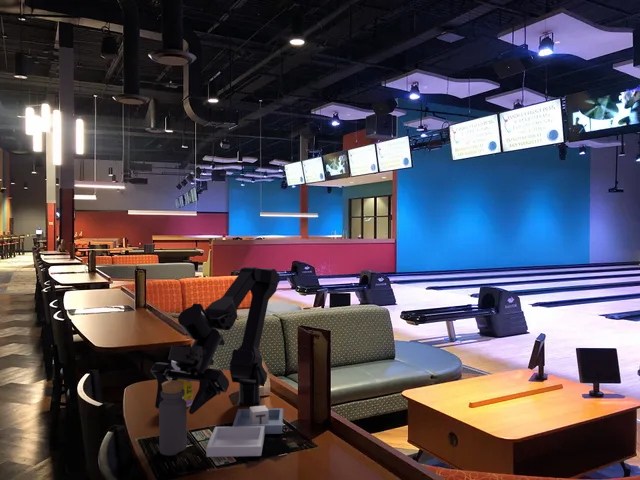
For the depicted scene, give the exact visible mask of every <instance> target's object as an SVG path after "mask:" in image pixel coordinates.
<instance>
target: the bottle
mask: <svg viewBox="0 0 640 480" xmlns="http://www.w3.org/2000/svg"><path fill="white" fill-rule="evenodd" d="M183 384H184V382H183V381H179V380H172V381H166V382H164V383H162V389H163V391H162V392H161V397H162V398H164V400H163V401H162V402H161V403H160V404H159V409H158V422H159V423H158V425H159V426H158V435H159V437H158V439H159V440H158V441H159V446H158V447H159V449H158V450H159V453H160V454H161V455H163V456H177V455H178V453H181V452H184V451H185V450H186V449H187V446H188V445H187V436H188V435H187V434H188V433H187V428H188V426H187V421H188V420H187V407H186V401H185V400H184V399H182V396H184V395H185V390H184V389H183Z"/></svg>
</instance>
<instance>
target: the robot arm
mask: <svg viewBox="0 0 640 480" xmlns="http://www.w3.org/2000/svg"><path fill="white" fill-rule="evenodd" d="M280 279H281V275H280V274H279V272H277V269H275V268H262V267H260V268H259V267H256V266H243V267H241V268H240V270H239V274H238V275H237V277H236V278H235V279H234V280H233V282H232V283H231V285H230V286H229V287H228V288H227V290H226V291H225V293H224V294H223V295H222V296H221V297H220V298H219V299H217V300H214V301H213V302H211V303H210V304H209V305H208V306H207V307H206V308H204V307H203V305H202V303H197V302H196V303H195V302H193V304H192V305H191V306H190V307H188V308H186V309H184V310H183V311H182V312H180V313H179V315H178V318H177V321H178V324H179V326H180V327H181V328H182V329H183V331H184V332H185V333H186V335H187V336H188V338H190V339H191V340H194V341H193V342H192V345H191V346H186V347H185V346H177V345H171V347H170V350H169V355H168V358H167V361H172V360H173V361H175V362H177V363H176V366H177V367H180V370H175V369H174V368H173V367H172V365H171V363H167V362H160V361H159V362H154V363H153V365H152V367H151V369H150V373H151V374H152V375H153V377H154V378H155V379H156V381H157V389H156V395H155V404H154V406H155V407H154V408H155V409H157V410H159V404H160V403H161V402H162V401H163V400H164V398H162V397H161V392H162V391H163V389H162V383H164V382H166V381H172V380H178V379H182V380H189V381H192V382H198V383H199V386H198V390H197V391H196V394H195V396H194V398H193V401H192V404H191V406H189V407H190V408H189V410H188V413H189V415H193V414H194V413H196V412H197V411H198V410H199V409H200V408H201V407H202V406H204V405H206V403H208V402H209V401H210V400H212V399H214V397H216V396H219V395H221V393H227V391H228V389H229V387H230V381H229V379H228V377H227V376H226V375H225V373H224V372H223V371H222V370H221V369H219V368H218V369H217V368H209V367H210V366H213V365H214V363H215V360H213V358H214V355H215V354H216V351H217V349H218V347H219V346H224V345H225V344H226V342H225V340H224V335H223V334H221V333H220V332H219V330H220V331H230V330H231V329H232V328H233V327H234V324H235V322H236V320H237V318H238V309H239V307H240V305H241V304H242V303H243V301H244V300H245V298H246V297H247V295H248V294H249V292H250V293H251V300H250V304H249V310H248V313H247V314H248V315H247V318H246V323H245V328H244V333H243V336H242V341H241V345H240V346H238V347H239V348H238V349H233V350H232V353H231V354H232V355H231V358H230V361H229V367H228V368H229V373H230V378H231V382H232V383H237V384H238V388H239V389H238V394H239V395H238V396H239V397H238V401H237V403H236V407H254V406H262V399H263V398H262V397H260V396H261V395H260V393H261V391H260V389H261V388H260V387H261V385H265V384H266V382H267V379H268V372H267V371H266V370H265V368H264V367H263V364H262V363H263V356H262V354H261V351H260V344H261V339H262V334H263V331H264V326H265V325H264V324H265V319H266V314H267V310H268V304H269V300H270V299H271V298H272V297H273V296H274V295H275V293H276V292H277V290H278V286H279V283H280Z"/></svg>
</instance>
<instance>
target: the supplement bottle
mask: <svg viewBox="0 0 640 480" xmlns="http://www.w3.org/2000/svg"><path fill="white" fill-rule="evenodd" d="M170 361H171V363H170V365H171V366H172V367H173V368H174V369H175V370H180V367H177V366H176V363H177V362H175V361H173V360H170ZM178 380H179V381H183V382H184V384H183V389H184V390H185V395H184V396H182V399H184V400H185V401H186V408H189V407H191V404H192V402H193V400H194V398H193V396H194V395H193V387H194V386H193V381H189V380H182V379H178Z"/></svg>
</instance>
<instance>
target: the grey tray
mask: <svg viewBox="0 0 640 480" xmlns="http://www.w3.org/2000/svg"><path fill="white" fill-rule="evenodd" d="M211 433H212V434H211V436H210V438H209V441H208V443H207V444H206V450H205V451H206V458H213V457H214V458H215V457H217V458H221V457H222V458H223V457H224V458H226V457H261V456H262V453H263V448H264V447H263V446H264V441H265V435H266V434H265V426H235V427H233V426H214V428H213V431H212V432H211Z"/></svg>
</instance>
